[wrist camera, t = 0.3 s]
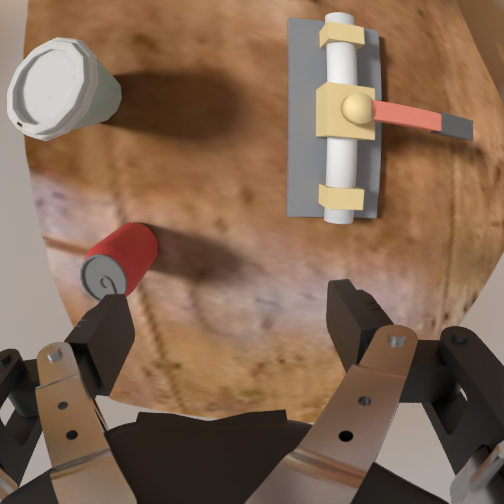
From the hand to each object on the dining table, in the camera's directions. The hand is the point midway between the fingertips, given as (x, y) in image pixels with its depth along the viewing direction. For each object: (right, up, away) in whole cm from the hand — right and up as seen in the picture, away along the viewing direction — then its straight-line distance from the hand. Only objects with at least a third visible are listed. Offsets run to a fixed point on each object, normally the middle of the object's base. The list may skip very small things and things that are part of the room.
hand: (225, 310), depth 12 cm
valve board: (+11, +19, +24) cm, 33 cm away
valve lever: (+18, +17, +17) cm, 30 cm away
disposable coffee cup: (-19, +22, +22) cm, 36 cm away
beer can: (-15, +3, +29) cm, 32 cm away
